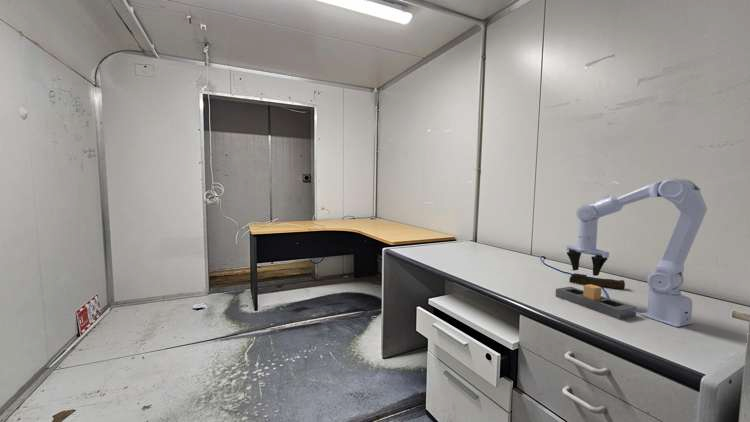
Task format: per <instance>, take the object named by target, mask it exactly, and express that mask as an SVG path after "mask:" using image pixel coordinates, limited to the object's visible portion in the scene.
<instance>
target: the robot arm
mask: <svg viewBox="0 0 750 422" xmlns="http://www.w3.org/2000/svg"><path fill="white" fill-rule="evenodd" d="M702 195H703V194H702V192H701V188H700V187H699V186H698V185H697V184H696V183H694V182H693V181H692V180H689V179H687V178H686V179H685V178H676V177H675V178H673V177H672V178H667V179H665V180H663V181H657V182H653V183H650V184H647V185H645V186H643V187H640V188H638V189H636V190H633V191H631V192H628V193H626V194H623V195H620V196H619V197H618V196H615V195H606V196H603V198H602V199H601V200H597V201H591V202H590V204H589V205H588V204H582V205H581V206H579V207H578V208H577V210H576V217H577V218H578V231H577V245H571V244H569V245H566V248H565V249H566V251H567V252H566V254H567V255H566V256H567V257H568V258H569V261H570V264H571V268H572V271H579V269H580V259H581V255H582V254H584V255H585V254H586V255H589V256H591V261H592V262H591V263H592V276H594V277H595V276H596V277H597V276H600V275H599V274H600V272H601V270H602V267H603V266H604V265H605V263H606V261H607V260H608V258H610V251H604V250H601V249H597V238H598V236H597V235H598V220H599V219H600V218H602V217H605V216H609V215H612V214H615V213H617V212H621V211H622V210H623V207H624V206H626V205H629V204H633V203H636V202H639V201H643V200H645V199H648V198H651V197H652V198H663V199H665V200H666V201H669V202H670V203H672V204H673V205H674V207H676V208H677V209H678V211H679V212H680V213H679V215H678V218H677V220H676V223H675V226H674V228H673V230H672V232H671V236H670V237H669V240H668V243H667V245H666V248H665V250H664V252H663V255H662V258H661V260H659V262H658V264H657V265H656V266H655V268H654V270H653V271H652V272H650V273H649V274H648V275H647V277H646V282H647V285H648V295H647V296H648V300H647V311H646V312H642V313H640V316H641V317H642V316H643V317H646V318H648V319H652V320H655V321H658V322H661V323H665V324H666V325H671V326H673V327H677V328H679V327H683V326H687V325H691V324H693V321H692V313H693V300H692V298H691V297H689V296H685V295H684V294H682V290H681V289H680V288H679V287H681V286H682V285H683V284H684V276H683V273H684V270H685V265H684V264H685V262H686V260H687V258H688V255H689V253H690V250H691V248H692V245H693V244H694V242H695V239H696V237H697V234H698V232H699V229H700V227H701V225H702V223H703V220H704V218H705V216H706V214H707V210H708V208H707V204H706V202H705V201H704V198H703V196H702Z"/></svg>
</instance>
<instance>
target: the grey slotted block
mask: <svg viewBox="0 0 750 422" xmlns="http://www.w3.org/2000/svg"><path fill="white" fill-rule="evenodd" d="M583 292H584V289H583V290H582V289H580V288H576V287H575V286H574V287H573V286H565V287H560V288H555V297H556V298H558V299H561V300H564V301H567V302H570V303H572V304H575V305H578V306H582V307H584V308H586V309H589V310H592V311H594V312H597V313H601V314H603V315H606V316H609V317H612V318H614V319H617V320H625V319H629V318H634V317H636V316H637V306H634V305H632V304H631V305H630V304H628V303H625V302H621V301H618V300H615V299H612V298H608V297H606V296H602V295H601V300H592V299H589V298H586V297H583Z"/></svg>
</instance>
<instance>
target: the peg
mask: <svg viewBox="0 0 750 422" xmlns="http://www.w3.org/2000/svg"><path fill="white" fill-rule="evenodd" d="M583 291H584V292H583V297H586V298H589V299H592V300H601V296H602V286H597V285H592V284H587V285H583Z"/></svg>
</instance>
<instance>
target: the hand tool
mask: <svg viewBox="0 0 750 422" xmlns="http://www.w3.org/2000/svg"><path fill="white" fill-rule="evenodd" d="M568 282H569V283H572V284H575V283H576V284H575V285H581V284H582V285H583V286H584V285H589V284H592V285H595V286H599V287H606V288H612V289H620V290H622V291H625V289H626V288H625V287H626V282H625V280H623V279H621V280H620V279H619V280H617V279H611V278H600V277H595V276H594V277H593V276H588V275H586V274H584V273H583V274H581V273H572V274H571V275H570V277H569V281H568Z"/></svg>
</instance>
